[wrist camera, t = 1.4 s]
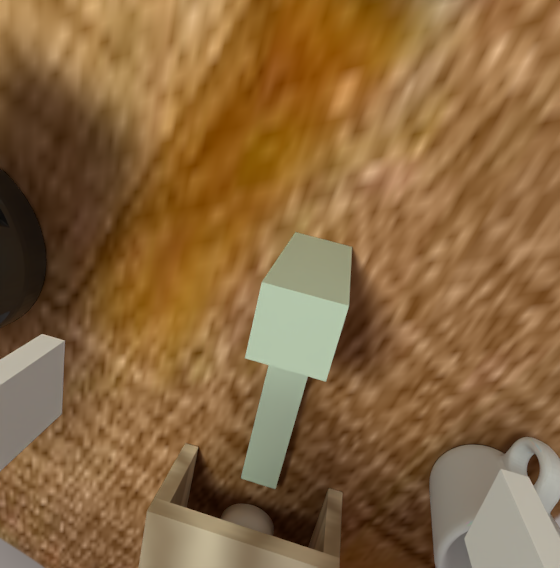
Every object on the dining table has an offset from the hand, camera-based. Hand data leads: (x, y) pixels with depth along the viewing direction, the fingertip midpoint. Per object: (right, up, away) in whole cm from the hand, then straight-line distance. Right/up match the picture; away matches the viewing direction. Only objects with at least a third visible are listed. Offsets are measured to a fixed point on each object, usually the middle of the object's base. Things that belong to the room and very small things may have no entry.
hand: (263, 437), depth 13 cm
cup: (+16, -9, +20) cm, 27 cm away
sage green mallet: (+1, -2, +20) cm, 20 cm away
